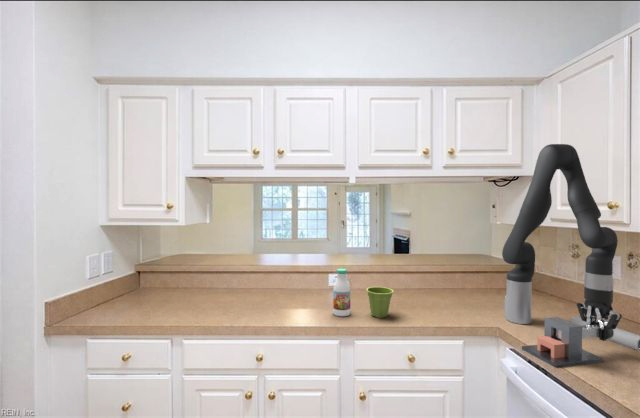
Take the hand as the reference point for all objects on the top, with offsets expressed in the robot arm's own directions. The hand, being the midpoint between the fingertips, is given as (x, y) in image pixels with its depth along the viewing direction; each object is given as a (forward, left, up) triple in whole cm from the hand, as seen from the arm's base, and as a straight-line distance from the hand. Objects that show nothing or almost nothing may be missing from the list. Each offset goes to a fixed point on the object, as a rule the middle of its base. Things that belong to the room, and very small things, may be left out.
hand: (597, 337), depth 114 cm
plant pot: (-49, -58, -5) cm, 76 cm away
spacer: (0, -18, -2) cm, 19 cm away
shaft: (0, -6, 0) cm, 6 cm away
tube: (-10, +15, -5) cm, 18 cm away
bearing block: (0, -14, -5) cm, 15 cm away
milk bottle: (-54, -74, -5) cm, 92 cm away
